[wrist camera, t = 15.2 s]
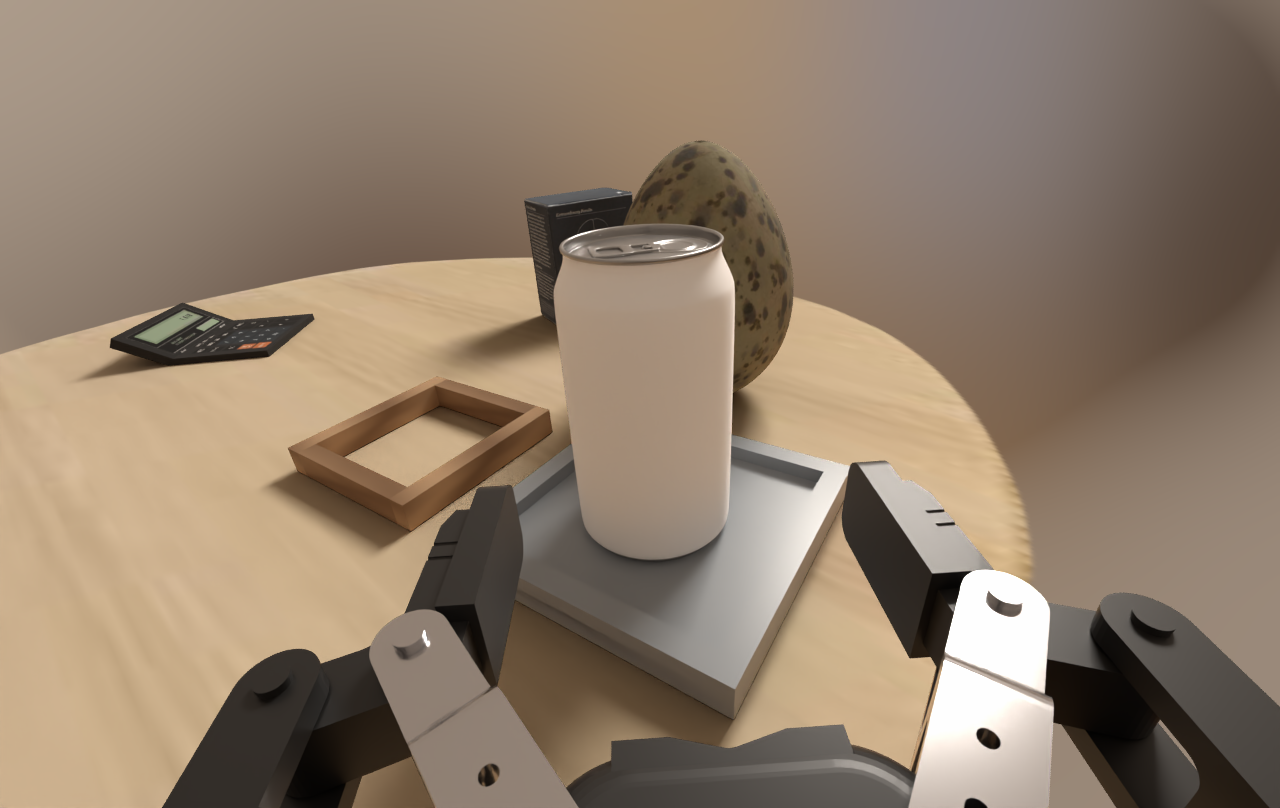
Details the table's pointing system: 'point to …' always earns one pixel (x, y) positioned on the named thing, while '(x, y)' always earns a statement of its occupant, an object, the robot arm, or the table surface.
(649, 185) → the decorative egg
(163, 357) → the calculator
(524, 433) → the frame
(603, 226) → the box
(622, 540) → the can
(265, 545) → the table surface
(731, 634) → the tray
